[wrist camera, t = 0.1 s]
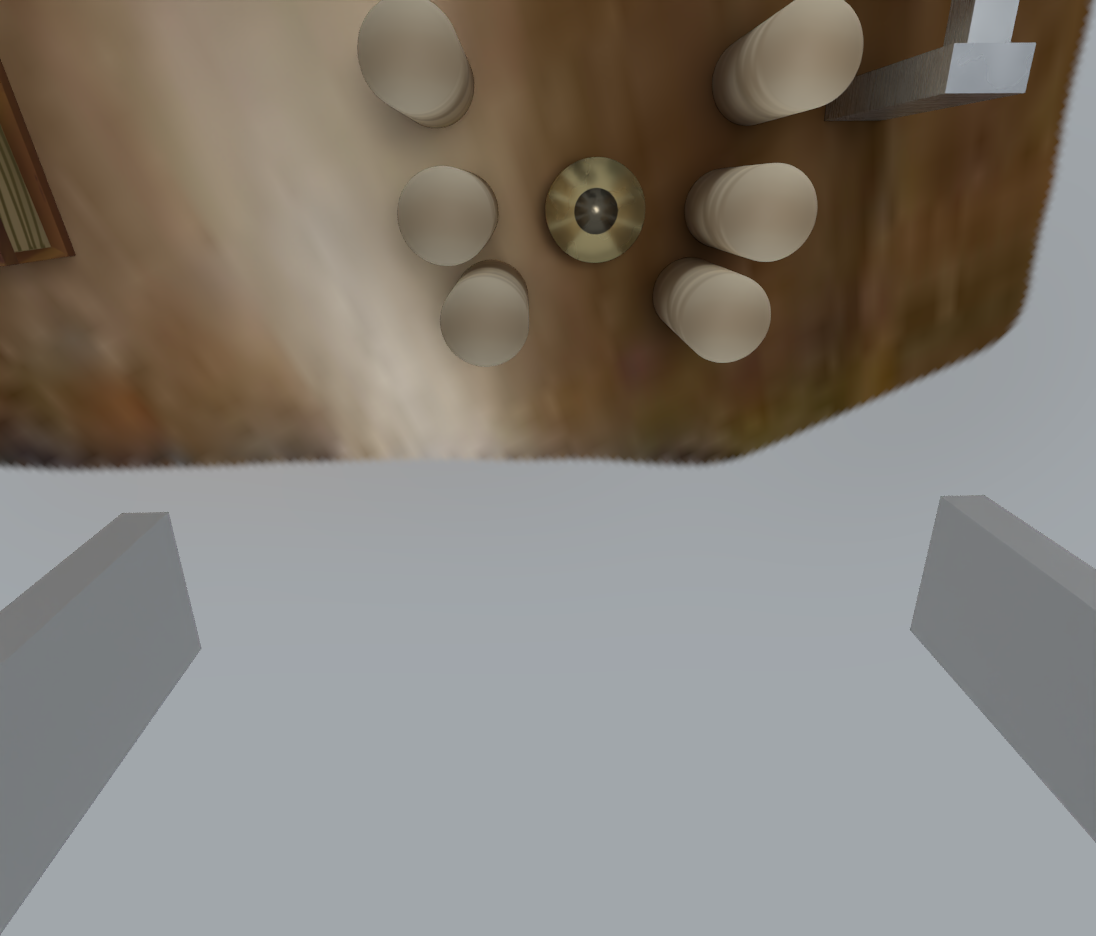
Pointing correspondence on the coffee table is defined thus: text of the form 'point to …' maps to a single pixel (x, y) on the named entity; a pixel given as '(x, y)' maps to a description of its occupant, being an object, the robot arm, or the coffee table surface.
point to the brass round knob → (595, 209)
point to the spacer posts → (711, 206)
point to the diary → (25, 193)
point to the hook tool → (945, 68)
